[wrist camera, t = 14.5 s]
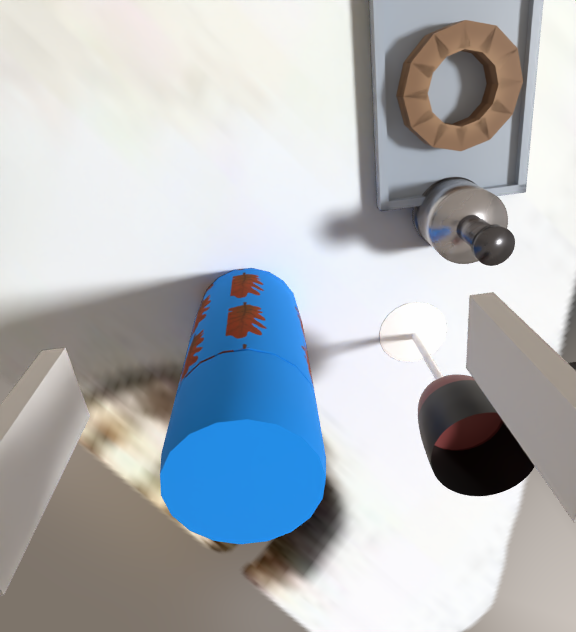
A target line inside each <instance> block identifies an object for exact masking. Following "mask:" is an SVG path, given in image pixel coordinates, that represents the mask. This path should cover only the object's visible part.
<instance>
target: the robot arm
mask: <svg viewBox="0 0 576 632" xmlns="http://www.w3.org/2000/svg"><path fill="white" fill-rule="evenodd" d="M466 368H467V370H468V371H469V373H470V374H471V375H472V377H473V378H474V380H475V381H476V383H477V384H478V385H479V387H480V388H481V390H482V391H483V393H484V394H485V395H486V397H487V398H488V400H489V401H490V403H491V404H492V406H493V407H494V408H495V410H496V411H497V413H498V414H499V416H500V417H501V418H502V420H503V421H504V423H505V424H506V426H507V427H508V428H509V430H510V431H511V433H512V434H513V436H514V437H515V439H516V440H517V441H518V443H519V444H520V446H521V447H522V449H523V450H524V451H525V453H526V454H527V456H528V457H529V459H530V460H531V462H532V463H533V464H534V466H535V467H536V469H537V470H538V472H539V473H540V474H541V476H542V477H543V479H544V480H545V481H546V483H547V484H548V486H549V487H550V489H551V490H552V492H553V493H554V495H555V496H556V497H557V499H558V500H559V502H560V503H561V504H562V506H563V507H564V509H565V510H566V512H567V513H568V515H569V516H570V517H571V519H572V520H573V522H576V362H572V363H567V362H566V361H565V360H564V359H563V358H562V357H561V356H560V355H559V354H558V353H557V352H555V351H554V350H553V349H552V348H551V347H550V346H549V345H548V344H547V343H546V342H545V341H544V340H543V339H542V338H541V337H540V336H539V335H538V334H537V333H535V332H534V331H533V330H532V329H531V328H530V327H529V326H528V325H527V324H526V323H525V322H524V321H523V320H522V319H521V318H520V317H519V316H518V315H517V314H516V313H514V312H513V311H512V310H511V309H510V308H509V307H508V306H507V305H506V304H505V303H504V302H503V301H502V300H501V299H500V298H499V297H498V296H497V295H496V294H494V293H493V292H492V293H484V294H477V295H470V298H469V319H468V340H467V361H466ZM89 417H90V414H89V411H88V409H87V406H86V403H85V400H84V398H83V395H82V392H81V389H80V386H79V384H78V381H77V378H76V375H75V373H74V370H73V367H72V364H71V361H70V359H69V356H68V353H67V350H66V348H58V349H50V350H42V351H41V352H40V354H39V355H38V356H37V358H36V359H35V360H34V362H33V363H32V364H31V365H30V367H29V368H28V369H27V371H26V372H25V373H24V375H23V376H22V377H21V379H20V380H19V381H18V382H17V384H16V385H15V386H14V388H13V389H12V390H11V392H10V393H9V394H8V396H7V397H6V398H5V400H4V401H3V402H2V403H1V405H0V595H4V594H5V592H6V589H7V588H8V585H9V583H10V581H11V579H12V577H13V575H14V573H15V571H16V568H17V567H18V565H19V562H20V560H21V559H22V556H23V554H24V552H25V550H26V548H27V546H28V544H29V542H30V540H31V537H32V536H33V534H34V531H35V529H36V527H37V525H38V523H39V521H40V519H41V517H42V515H43V513H44V511H45V509H46V507H47V504H48V502H49V500H50V498H51V496H52V494H53V492H54V490H55V488H56V486H57V484H58V482H59V480H60V478H61V475H62V473H63V471H64V469H65V467H66V465H67V463H68V461H69V459H70V457H71V455H72V453H73V451H74V448H75V446H76V444H77V442H78V440H79V438H80V436H81V434H82V432H83V430H84V428H85V426H86V424H87V422H88V420H89Z"/></svg>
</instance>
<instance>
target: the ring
mask: <svg viewBox="0 0 576 632" xmlns="http://www.w3.org/2000/svg"><path fill="white" fill-rule="evenodd" d="M459 51H462V52H468V53H472V54H473V55H474V57H475V58H476V59H477V60H478V61H479V62H480V63H481V64H482V65H483V68H484V73H485V78H486V83H487V84H486V88H485V91H484V95H483V98H482V102H481V103H480V105H479V106H478V107H477V108H476V109H475V110H474V111H473V113H472V114H471V115H470V116H469V117H468V118H465V119H463V120H460V121H458V122H456V123H453V124H449V123H443V122H442V121H441V120H440V119H439V118H438V117H437V116H436V115H435V114H434V113H433V112H432V108H431V104H430V100H429V96H428V91H429V87H430V83H431V79H432V75H433V73H434V71H435V70H436V69H437V68H438V66H439V65H440V64H441V63H442V62H443V60H444V59H445V58H446V57H447V56H450V55H452V54H454V53H457V52H459ZM522 84H523V77H522V71H521V65H520V59H519V53H518V48H517V47H516V46H515V45H514V44H513V43H512V42H511V41H510V39H509V38H508V37H507V36H506V35H505V34H504V33H503V32H502V31H501V30H500V29H499V27H498V26H497V25H491V24H486V23H480V22H475V21H469V20H463V21H459V22H455V23H452V24H450V25H448V26H445V27H443V28H441V29H439V30H436V31H434V32H432V33H429V34H427V35H425V36H424V37H423V38H422V40H421V41H420V42H419V43H418V45H417V46H416V47H415V49H414V50H413V51H412V52H411V54H410V55H409V56H408V57H407V59H406V60H405V61H404V62H403V67H402V71H401V76H400V80H399V85H398V89H397V94H396V95H397V96H396V97H397V100H398V104H399V108H400V111H401V115H402V119H403V122H404V125H405V126H406V127H407V128H408V129H409V130H410V131H411V132H413V133H414V134H415V135H416V136H417V137H418V138H419V139H420V140H421V141H422V142H423V143H425V144H427V145H429V146H431V147H435V148H442V149H448V150H455V151H463V150H466V149H468V148H471V147H473V146H476V145H478V144H481V143H483V142H486V141H488V140H490V139H491V138H492V137H493V136H494V135H495V134H496V133H497V131H498V130H499V129H500V128H501V127H502V126H503V125H504V124H505V123H506V121H507V120H508V119H509V118H510V117H511V116H512V114H513V112H514V109H515V106H516V103H517V99H518V96H519V93H520V90H521V87H522Z"/></svg>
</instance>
